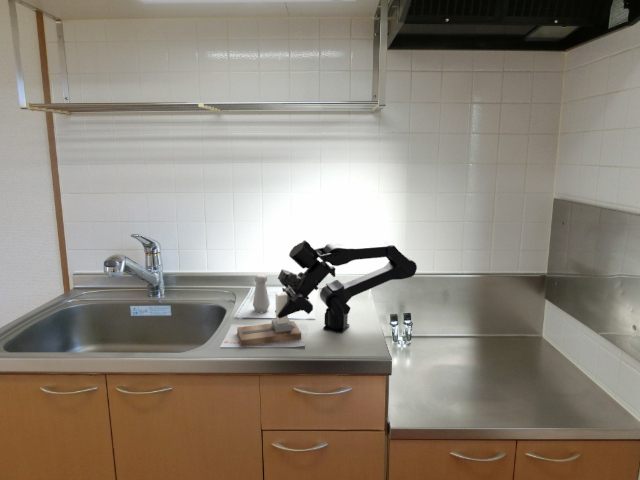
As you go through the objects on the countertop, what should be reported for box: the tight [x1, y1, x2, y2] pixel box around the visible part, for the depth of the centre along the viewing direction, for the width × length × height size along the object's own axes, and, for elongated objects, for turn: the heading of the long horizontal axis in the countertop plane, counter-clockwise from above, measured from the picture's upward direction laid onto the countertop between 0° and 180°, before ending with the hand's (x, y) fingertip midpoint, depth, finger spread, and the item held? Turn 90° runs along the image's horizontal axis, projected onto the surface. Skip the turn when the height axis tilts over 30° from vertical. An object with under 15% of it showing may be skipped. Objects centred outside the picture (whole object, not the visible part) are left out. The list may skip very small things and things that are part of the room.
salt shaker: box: [252, 273, 271, 313], centre depth 153 cm, size 6×6×13 cm
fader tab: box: [271, 291, 292, 333], centre depth 134 cm, size 5×6×11 cm
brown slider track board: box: [236, 320, 302, 347], centre depth 135 cm, size 18×9×2 cm, turn 108°
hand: (277, 315), depth 134 cm, fingers closed on fader tab, 3 cm apart
